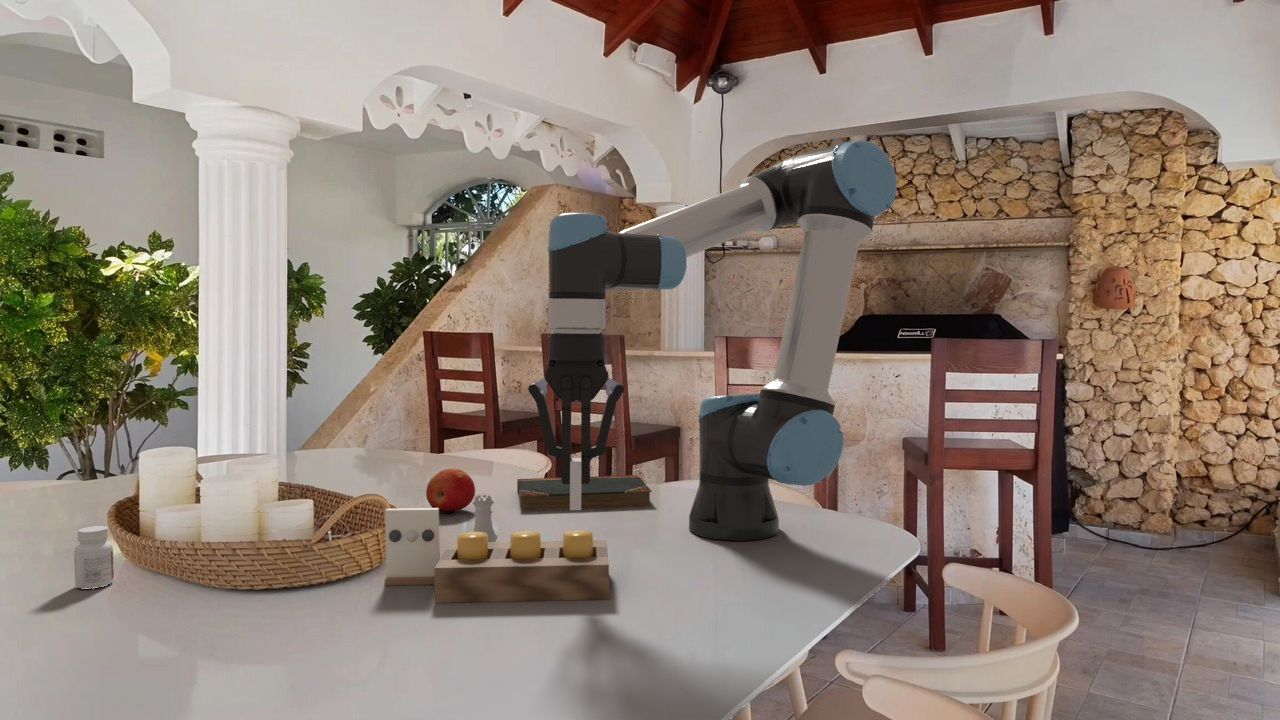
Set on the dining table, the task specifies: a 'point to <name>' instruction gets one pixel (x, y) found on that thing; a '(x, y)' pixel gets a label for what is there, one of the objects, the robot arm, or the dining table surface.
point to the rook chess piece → (484, 516)
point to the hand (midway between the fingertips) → (575, 507)
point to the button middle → (525, 545)
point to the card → (411, 545)
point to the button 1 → (472, 545)
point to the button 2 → (577, 544)
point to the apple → (450, 490)
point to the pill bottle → (93, 558)
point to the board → (522, 575)
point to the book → (583, 493)
